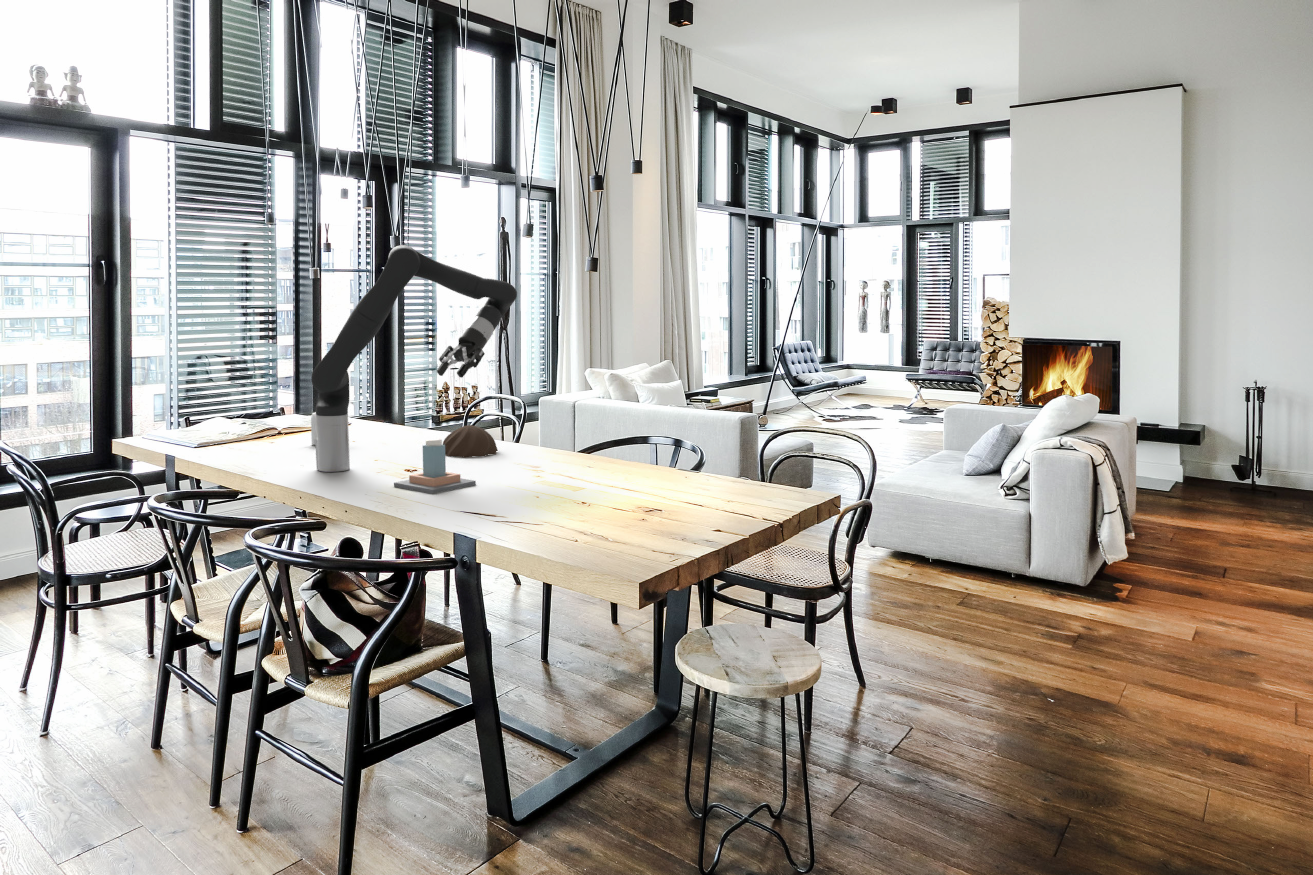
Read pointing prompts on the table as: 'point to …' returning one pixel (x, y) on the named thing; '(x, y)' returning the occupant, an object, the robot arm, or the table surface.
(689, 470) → the table surface
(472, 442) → the decorative dome
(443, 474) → the ball-topped blue post
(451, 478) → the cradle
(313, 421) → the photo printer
